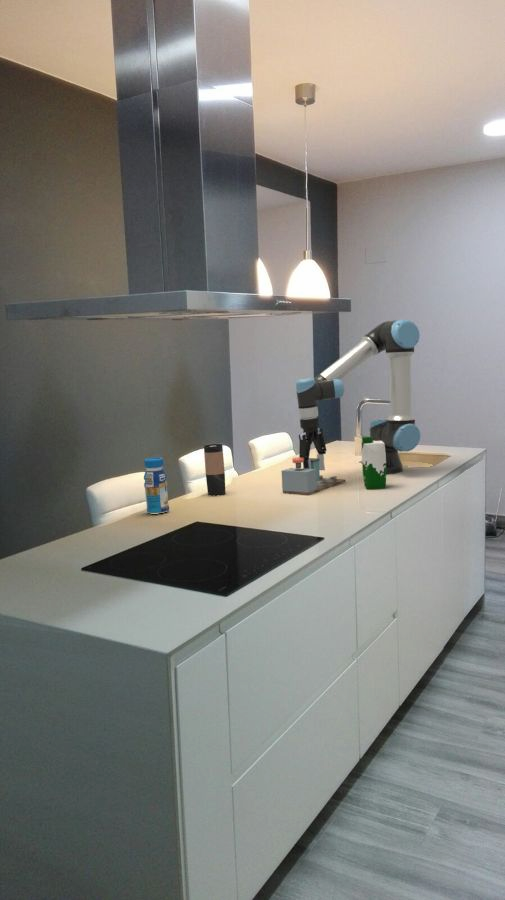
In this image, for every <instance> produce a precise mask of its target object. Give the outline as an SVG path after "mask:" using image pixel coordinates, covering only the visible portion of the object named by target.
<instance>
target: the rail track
mask: <svg viewBox="0 0 505 900" xmlns="http://www.w3.org/2000/svg"><path fill="white" fill-rule="evenodd" d="M346 482H347V480H346V479H345V478H344V479H342V478H337V475H333V476H330V477H327V478H326V477H324V476H323V474H320V481H318V482H317V490H314V491H311V492H308V493H306V492H294V491H283V490H282V494H291V495H302V496H310V495H314V494H315V493H318V492H321V491H324V490H327V489H329V488H333V487H336V486H338V485H341V484H345V483H346Z"/></svg>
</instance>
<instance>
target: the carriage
mask: <svg viewBox="0 0 505 900" xmlns="http://www.w3.org/2000/svg"><path fill="white" fill-rule="evenodd" d="M309 460H310V462H311V469H316V476H317V482H318V481H320V475H321V474H320V470H319V461H320V460H319V458H317V457H315V458H314V457H309ZM302 469H305V468H304V462H302Z"/></svg>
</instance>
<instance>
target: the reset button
mask: <svg viewBox="0 0 505 900" xmlns="http://www.w3.org/2000/svg"><path fill="white" fill-rule="evenodd" d="M303 462H304V458H302V457H299V456H298V457H293V458H292V464H295V468H302V464H303Z"/></svg>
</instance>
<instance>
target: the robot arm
mask: <svg viewBox="0 0 505 900" xmlns="http://www.w3.org/2000/svg"><path fill="white" fill-rule="evenodd" d="M420 335H421V334H420V330H419V327H418V326H417V325H416V323H414V322H413V321H411V320H409V319H395V320H389V321H388V320H387V321H383V322H381V323H380V324H378V325H377V326H375V327H374V328H372V330H370V331H368V332H367V334H365V335H364V336H363V337H361V341H360V342H359V343H357V344H356V345H355V346H353V348H351V349H350V350H349V351H347V352H346V353H345V354H344V355H342V356H341V357H340V358H338V359H337V360H336V361H334V362H333V363H332V364H330V365H329V366H328V367H326V369H324V370H323V371H322V372H321V373H319V374H317V375H316V377H313V378H312V377H310V378H309V377H307V378H301V379H298V380H297V381H296V382H295V391H296V392H295V393H296V398H297V404H298V405H297V406H298V414H299V418H300V419H299V424H300V425H299V426H300V429H302V431H303V433H302V434H299V435H298V439H299V449H298V450H299V452H298V453H299V454H298V455H299V456H298V457H302V458H304V468H305V469H311V462H310V460H309V458H310V453H311V446H312V444H313V445H314V448H315V450H316V452H317V454H316V458H319V460H320V461H319V471H325V470H326V467H325V454H327V446H326V442H325V439H324V438H325V437H324V433H323V432H324V431H323V428H319V427H320V419H319V410H318V409H319V408H318V402H322V401H325V400H326V401H327V400H333V399H338V398H341V397H343V396H344V393H345V386H344V382H343V381H342V380H343V379H344V378H346V377H347V376H348V375H349V374H350V373H352V372H353V371H354V370H356V369H357V368H359V366H361V365H362V364H363V363H364V362H366V361H367V360H368V359H369V358H371V357H373V356H374V357H375V356H377V355H379V354H380V353H381V352H384V351H385V355H386V356H388V358H389V413H390V414H389V416H388V417H387V418H384V419H383V418H382V419H375V420H371V421H370V423H369V437H373V441H382V442H384V444H385V452H386V475H387V474H390V473H391V474H397V472H398V473H401V472H403V471H404V467H403V463H402V461H401V457H400V455H399V452H410V451H413V450H414V449H415V448H416V447H417V446H418V445H419V443H420V439H421V431H420V429H419V427H418V426H417V425H416V418H415V417H414V416H413V414H412V378H411V377H412V372H411V369H412V367H411V365H412V364H411V362H412V361H411V357H412V356H413V354H415V346H417V344H418V343H419V340H420ZM402 470H403V471H402ZM391 474H390V475H391Z"/></svg>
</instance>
